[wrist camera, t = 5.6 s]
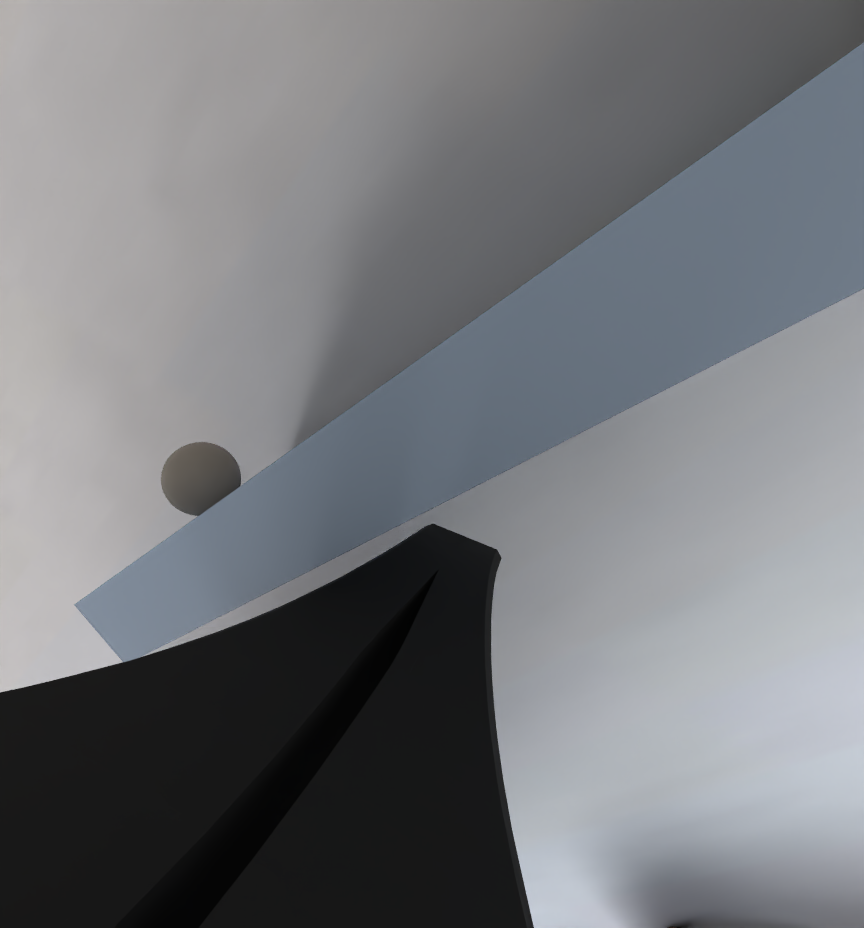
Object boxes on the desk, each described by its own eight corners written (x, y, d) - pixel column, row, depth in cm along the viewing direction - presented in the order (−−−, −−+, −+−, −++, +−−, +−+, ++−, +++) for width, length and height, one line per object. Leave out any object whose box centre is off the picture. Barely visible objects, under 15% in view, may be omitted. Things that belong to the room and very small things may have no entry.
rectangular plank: (807, -19, 6) (1118, -504, 2) (891, 154, 7) (1314, 60, 2) (249, 426, 12) (25, 547, 8) (309, 507, 13) (124, 664, 8)
